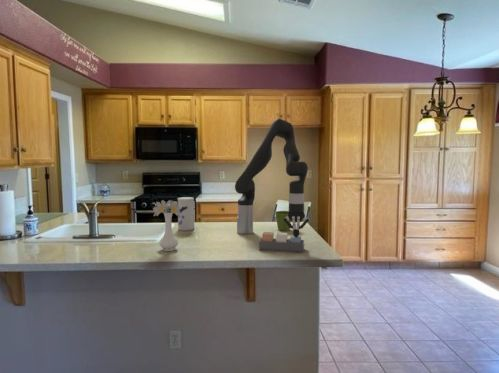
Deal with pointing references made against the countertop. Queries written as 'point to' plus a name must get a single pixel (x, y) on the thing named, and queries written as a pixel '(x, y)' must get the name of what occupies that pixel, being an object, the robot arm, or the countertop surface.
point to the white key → (281, 237)
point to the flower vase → (167, 223)
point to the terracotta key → (268, 236)
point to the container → (186, 213)
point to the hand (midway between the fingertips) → (296, 236)
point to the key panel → (281, 246)
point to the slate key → (295, 239)
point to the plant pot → (282, 220)
